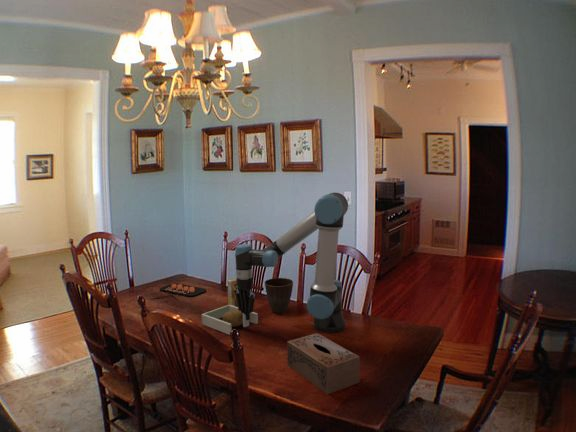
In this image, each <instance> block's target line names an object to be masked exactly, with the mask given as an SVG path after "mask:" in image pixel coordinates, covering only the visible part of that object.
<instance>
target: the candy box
mask: <svg viewBox="0 0 576 432" xmlns="http://www.w3.org/2000/svg"><path fill="white" fill-rule="evenodd" d="M236 279H237V277H236V278H232V279H228V280H227V302H228V304H227V305H232V306H235V307H238V305H237V300H236V295H235V293H234V290H237V289H238V286H237V284H236Z"/></svg>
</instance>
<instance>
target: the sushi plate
mask: <svg viewBox="0 0 576 432" xmlns="http://www.w3.org/2000/svg"><path fill="white" fill-rule="evenodd" d="M168 287H171V288H172V290H176V288H177V289H178V291H182V288H183V291H184V293H186V294H183V293H178V292H173V291H169V290H165V289H166V288H168ZM159 290H160V291H163V292H166V293H167V294H169V295H164V296H158V297H153V298H151V300H157V298H158V299H161V298H162V299H163V298H167V297H172V298H173V299H174V300H176V299H177V300H179V299H178V298H176V297H175V296H176V295H182V296H187V297H188V296H189V297H194V296H198V295H200V294H202V293H205V292H206V291H208V289H207V288H205V287H204V288H203V287H198V286H193V285H188V284H184V283H177V282H175V283H170V284H167V285H164V286H162V287H160V288H159ZM188 290H189V293H187V292H188ZM171 293H174V294H171ZM177 300H176V301H177Z"/></svg>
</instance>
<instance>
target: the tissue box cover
mask: <svg viewBox="0 0 576 432" xmlns="http://www.w3.org/2000/svg"><path fill="white" fill-rule="evenodd" d="M286 350H287V351H286V352H287V353H286V355H287V356H286V357H287V359H286V360H287V363H286V364H287V366H288V367H290V368H291V369H292V370H294V371H295V372H296V373H298V374H299V375H301V376H302V377H303V378H305V380H307V381H308V382H310V383H311V384H313V385H314V386H315V387H316V388H318V389H320V391H322V392H323V393H325V394H326V395H330V394H332V393H335V392H337V391H341V390H343V389H346V388H348V387H351V386H354V385H357V384H359V383H360V382H361V381H360V378H361V376H360V374H361V373H360V372H361V370H360V368H361V367H360V366H361V365H360V363H361V362H360V359H361V358H360V356H359V355H358V354H356V353H354V352H352V351H351V350H348V349H346V348H345V347H343V346H341V345H340V344H338V343H337V342H334V341H332V340H331V339H329V338H327V337H325V336H323V335H322V334H320V333H319V332H316V333H312V334H308V335H305V336H301V337H299V338H294V339H291V340H288V341H286Z"/></svg>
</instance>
